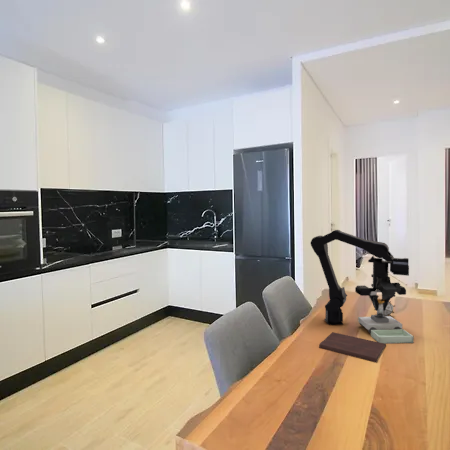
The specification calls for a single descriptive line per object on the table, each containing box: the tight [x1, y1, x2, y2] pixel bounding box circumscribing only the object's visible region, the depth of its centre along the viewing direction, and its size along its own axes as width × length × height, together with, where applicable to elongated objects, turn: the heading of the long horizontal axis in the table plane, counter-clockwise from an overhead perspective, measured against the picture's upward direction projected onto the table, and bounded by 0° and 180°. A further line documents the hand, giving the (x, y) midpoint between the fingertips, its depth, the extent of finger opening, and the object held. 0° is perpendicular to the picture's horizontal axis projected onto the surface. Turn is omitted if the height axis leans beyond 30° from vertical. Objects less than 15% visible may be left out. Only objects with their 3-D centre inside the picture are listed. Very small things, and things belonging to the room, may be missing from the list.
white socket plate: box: [357, 314, 403, 335], centre depth 135 cm, size 14×10×6 cm
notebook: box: [318, 331, 387, 363], centre depth 120 cm, size 15×20×2 cm
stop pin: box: [376, 298, 385, 317], centre depth 135 cm, size 3×3×7 cm
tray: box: [370, 328, 415, 344], centre depth 126 cm, size 13×7×2 cm, turn 91°
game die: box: [373, 300, 396, 317], centre depth 151 cm, size 9×8×10 cm
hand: (380, 310), depth 135 cm, fingers closed on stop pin, 3 cm apart
